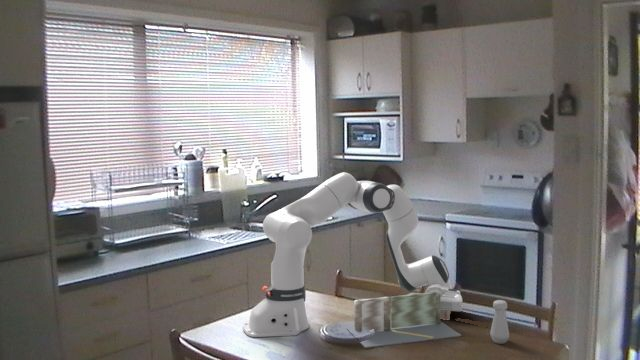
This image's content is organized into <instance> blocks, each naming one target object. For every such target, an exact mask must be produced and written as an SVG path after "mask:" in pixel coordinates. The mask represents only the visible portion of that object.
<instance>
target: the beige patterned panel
mask: <svg viewBox="0 0 640 360" xmlns="http://www.w3.org/2000/svg"><path fill="white" fill-rule="evenodd" d="M353 303H354V304H353V308H354V327H355V331H356V332H361V331H363V330H372V329H374V331H375V332H379V331H390V330H391V296H381V297H370V298H361V299H355V300H354V302H353Z"/></svg>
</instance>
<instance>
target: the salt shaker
mask: <svg viewBox="0 0 640 360" xmlns="http://www.w3.org/2000/svg"><path fill="white" fill-rule="evenodd" d="M492 307H493V309H494V312H493V313H494V315H493V319H492V323H491V327H490V332H489V334H490V338H491V339H492V342H493V343H495V344H502V345H504V344H505V343H507V342H508V340H509V338H510V331H509V330H510V329H509V324H508V318H507V312H506V310H507V309H508V302H507V301H505V300H502V299H497V300H494V301H493V303H492Z"/></svg>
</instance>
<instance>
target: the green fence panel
mask: <svg viewBox="0 0 640 360" xmlns="http://www.w3.org/2000/svg"><path fill="white" fill-rule="evenodd" d="M419 293H420V292H419ZM440 300H441V294H440V293H436V292H429V293H425V292H421V293H420V294H410V295H408V294H403V295H402V294H401V295H392V296H390V308H391V328H398V327H407V326H415V325H424V324H432V323H440V321H441V310H440Z"/></svg>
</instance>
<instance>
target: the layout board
mask: <svg viewBox="0 0 640 360" xmlns="http://www.w3.org/2000/svg"><path fill="white" fill-rule="evenodd" d="M457 337H458V338H459V337H462V334H461V333H459V332H457V331H456V330H455V329H454V328H451V327H450V326H448V325H447V324H445V323H444V322H442V321H441V320H440V323H432V324H424V325H415V326H407V327H398V328H391V330H390V331H379V332H375V334H374V335H373V337H372V338H370V339H368V340H365V341H362V342H359V344H361V345H362V346H363V347H364V348H365V349H369V348H370V349H371V348H377V347H378V348H379V347H386V346H392V345H400V344H409V343H416V342H418V343H419V342H426V341H432V340H433V341H434V340H439V339H440V340H441V339H446V338H447V339H449V338H457Z"/></svg>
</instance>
